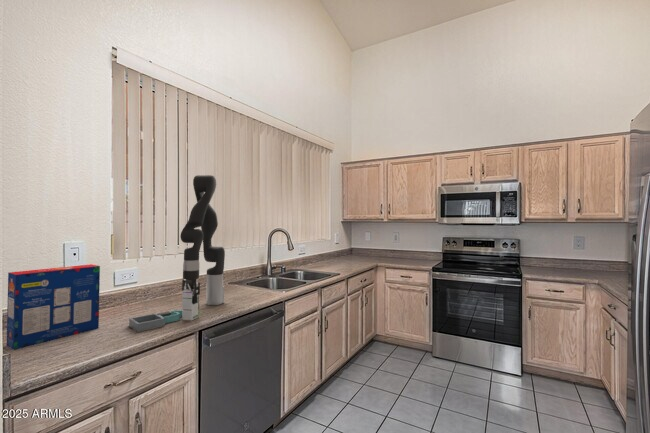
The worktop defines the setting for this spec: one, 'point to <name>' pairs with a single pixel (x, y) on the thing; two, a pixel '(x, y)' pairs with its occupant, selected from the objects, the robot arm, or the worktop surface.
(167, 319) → the clip
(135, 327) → the holder
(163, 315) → the tall charcoal prism
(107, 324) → the worktop surface
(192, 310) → the syrup box
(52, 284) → the blue toy box
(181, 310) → the clip
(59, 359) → the worktop surface
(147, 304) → the worktop surface
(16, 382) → the worktop surface
